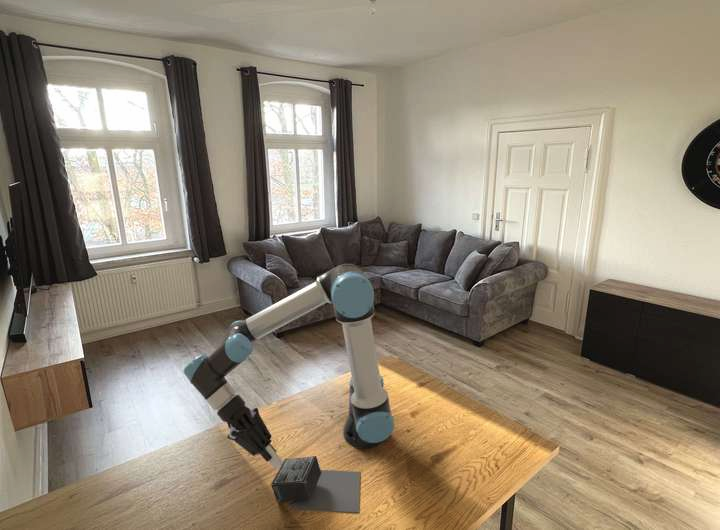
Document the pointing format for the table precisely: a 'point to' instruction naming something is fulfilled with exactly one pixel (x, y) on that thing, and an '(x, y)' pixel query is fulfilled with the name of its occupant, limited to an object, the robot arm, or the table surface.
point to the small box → (296, 479)
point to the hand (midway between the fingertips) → (279, 465)
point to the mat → (333, 493)
